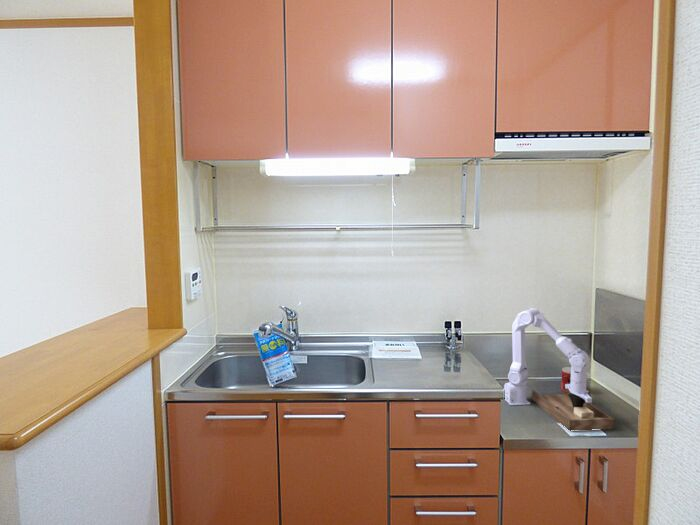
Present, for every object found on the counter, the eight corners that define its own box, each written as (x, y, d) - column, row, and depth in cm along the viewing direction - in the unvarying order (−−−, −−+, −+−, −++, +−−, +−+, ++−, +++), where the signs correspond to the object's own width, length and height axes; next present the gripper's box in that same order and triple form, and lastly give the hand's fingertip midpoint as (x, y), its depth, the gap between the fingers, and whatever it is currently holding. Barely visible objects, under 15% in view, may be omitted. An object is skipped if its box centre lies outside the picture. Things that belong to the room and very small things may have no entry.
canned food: (562, 393, 193) (562, 371, 192) (560, 387, 200) (561, 366, 199) (580, 396, 190) (581, 373, 189) (577, 389, 197) (578, 367, 196)
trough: (569, 431, 158) (570, 420, 157) (531, 399, 186) (532, 390, 186) (613, 429, 159) (613, 418, 158) (568, 398, 188) (569, 388, 187)
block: (581, 422, 161) (581, 412, 160) (573, 416, 166) (573, 407, 165) (593, 421, 161) (593, 412, 161) (585, 416, 166) (585, 406, 166)
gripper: (599, 387, 159) (598, 419, 160) (576, 373, 173) (575, 403, 175) (582, 387, 158) (581, 420, 160) (561, 374, 173) (560, 404, 174)
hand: (577, 411), depth 167 cm, fingers closed
